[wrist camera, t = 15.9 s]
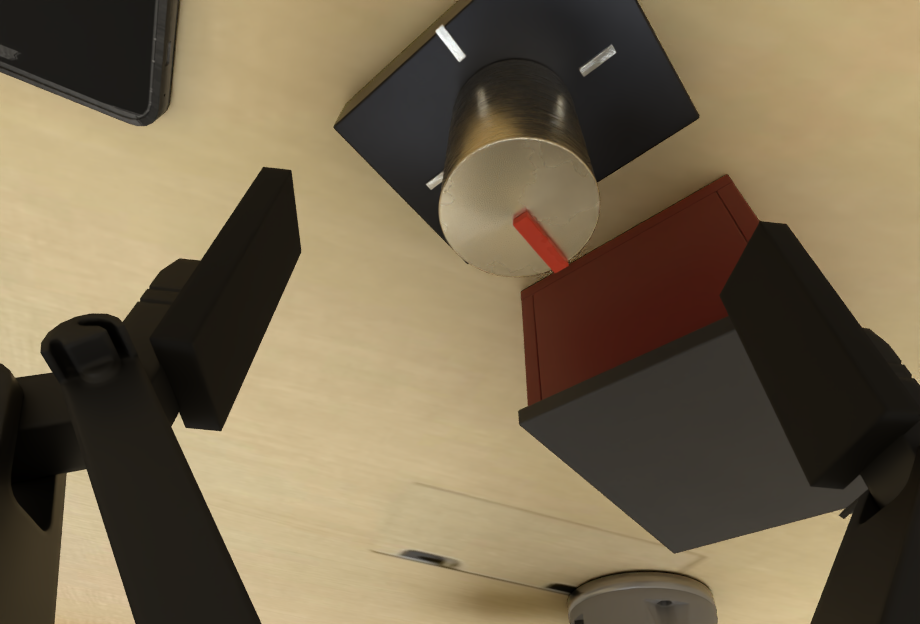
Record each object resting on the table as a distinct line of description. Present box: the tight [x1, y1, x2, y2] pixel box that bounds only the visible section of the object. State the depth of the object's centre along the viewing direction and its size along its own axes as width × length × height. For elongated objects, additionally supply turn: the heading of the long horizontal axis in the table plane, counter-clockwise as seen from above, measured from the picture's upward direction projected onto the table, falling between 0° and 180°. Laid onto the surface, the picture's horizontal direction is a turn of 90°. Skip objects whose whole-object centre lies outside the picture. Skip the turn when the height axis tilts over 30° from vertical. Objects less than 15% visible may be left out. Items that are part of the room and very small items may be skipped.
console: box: [334, 0, 699, 264], centre depth 23 cm, size 12×9×3 cm
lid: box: [518, 316, 868, 553], centre depth 25 cm, size 15×12×1 cm
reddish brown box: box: [521, 175, 760, 406], centre depth 29 cm, size 15×12×9 cm
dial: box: [439, 59, 600, 277], centre depth 19 cm, size 5×5×7 cm
